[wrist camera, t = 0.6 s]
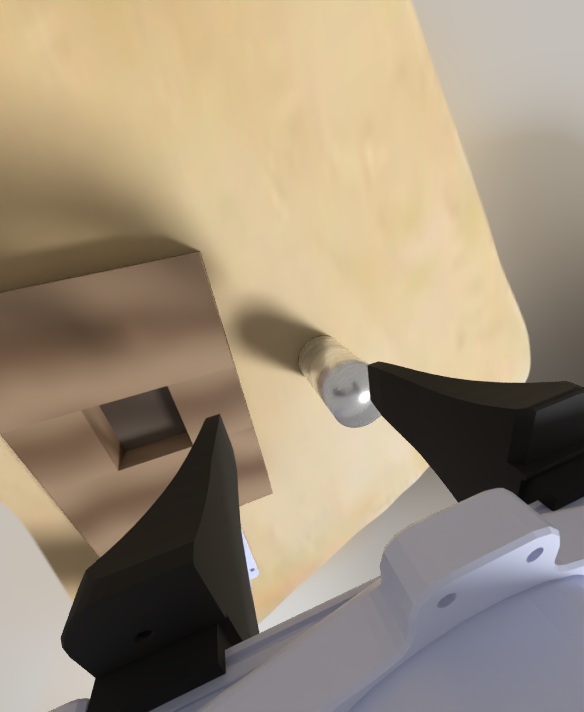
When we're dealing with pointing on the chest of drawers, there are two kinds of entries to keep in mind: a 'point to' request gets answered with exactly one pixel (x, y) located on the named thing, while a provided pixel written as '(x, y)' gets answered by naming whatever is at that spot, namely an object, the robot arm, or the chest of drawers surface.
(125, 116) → the chest of drawers surface
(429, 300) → the chest of drawers surface
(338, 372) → the peg
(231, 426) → the socket board
